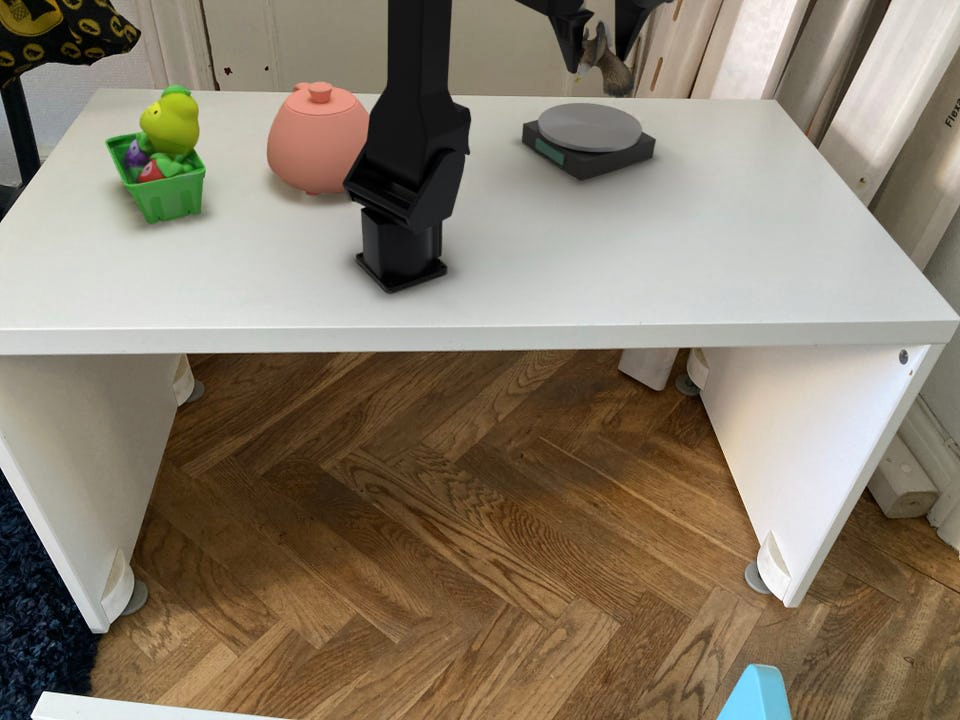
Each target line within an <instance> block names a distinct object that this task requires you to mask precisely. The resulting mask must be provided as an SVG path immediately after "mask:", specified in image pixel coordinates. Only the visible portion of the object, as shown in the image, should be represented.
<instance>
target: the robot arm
mask: <svg viewBox="0 0 960 720" xmlns="http://www.w3.org/2000/svg"><path fill="white" fill-rule="evenodd" d="M514 1H515V2H517V3H519V4H521V5H522V6H525V7H527V8H529V9H531V10H533V11H535V12H536V13H537V12H538V13H540V14H541V15H544V16H545V17H547V19H548V21H549V23H550V26H551V27H552V30H553V32H554V34H555V38H556V40H557V43H558V46H559V50H560V52H561V55H562V59H563V61H564V64H565V68H566V70H567V72H568V73H570V74H571V75H576V74H578V71H579V67H580V63H579V62H580V56H581V48H582V41H583V36H584V34H585V27H586V24H587V23H588V22H589V21H590V20H591V19H592V18H593V17H594V16H595V11H592V10H590V9H589V8H586V7H587V0H514ZM674 1H675V0H614V49H615V55H616V56H617V57H618V58H619V59H621V61H622V62H624V63H625V62H626V60H627V58H628V57H629V55H630V53H631V51H632V49H633V47H634V45H635V43H636V42H637V41H636V40H637V39H638V37H639V35H640V33H641V31H642V29H643V27H644V25H645V23H646V21H647V20H648V18H649V16H650V14H652V12H653V11H654V10H655V9H656V8H659V7H660V6H661V5H662V4H665V3H666V5H667V4H672V3H673V2H674ZM452 10H453V0H387V62H386V63H387V65H386V66H387V67H386V68H387V70H386V71H387V72H386V74H387V75H386V78H387V79H386V86H385V87H384V88H383V91H382V92H381V94H380V95H379V97H378V99H377V101H376V102H375V103H374V105H373V107H372V108H371V110H370V112H369V115H370V117H369V125H368V133H367V141H366V142H365V144H364V146H363V148H362V149H361V151H360V153H359V155H358V156H357V158H356V160H355V162H354V163H353V165H352V167H351V169H350V170H349V172H348V174H347V176H346V177H345V179H344V181H343V187H344V190H345V191H344V193H345V194H346V196H347V199H348V200H349V201H351V202H352V203H357V204H358V205H361V206H363V207H362V208H360V219H361V220H360V222H361V235H362V236H361V238H362V251H361V252H358V253H356V254H355V261H356V262H357V263H358V264H359V266H361V267H362V268H363V270H365V272H367V273H368V274H369V276H370V277H372V279H374V281H376V283H377V284H379V286H381V288H382V289H384V291H386V292H388V293H392V292H396V291H399V290H401V289H404V288H407V287H409V286H414V285H416V284H418V283H421V282H424V281H427V280H430V279H433V278H437V277H439V276H442V275H445V274H447V273H448V265H447V264H446V263H444V261H443V260H441V259H440V258H441V257H442V255H443V221H445V220H447V219H449V218H450V217H452V215H453V212H454V209H455V205H456V201H457V197H458V193H459V189H460V186H461V182H462V178H463V175H464V170H465V165H466V156H470V155H471V147H470V144H469V141H470V139H469V138H470V137H469V136H470V130H471V124H472V114H471V109H470V108H469V107H467V106H465V105H463V104H461V103H458V102H455V101H454V100H453V97H452V95H451V93H450V91H449V72H450V71H449V68H450V53H451V52H450V51H451V50H450V49H451V30H452V13H453V11H452Z"/></svg>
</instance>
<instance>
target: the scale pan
mask: <svg viewBox="0 0 960 720" xmlns="http://www.w3.org/2000/svg"><path fill="white" fill-rule="evenodd" d="M537 120H538V129H539V131H540V133H541V134H542V135H543V136H544V137H545V138H546V139H548V140H549V141H551V142H553V143H555V144H557V145H560V146H563V147H566V148H569V149H574V150H579V151H585V152H612V151H618V150H622V149H626V148H628V147H631V146H633V145H634V144H636V143H637V142H638V141H639V139H640V138H641V134H642V132H643V127H642V124H641V123H640V121H639V120H638V119H637V118H635V116H633V115H631V113H628V112H626V111H624V110H622V109H619V108H617V107H613V106H609V105H606V104H605V105H604V104H600V103H599V104H598V103H590V102H572V103H571V102H570V103H562V104H557V105H555V106H551V107H549V108H547V109H545V110H544V111H542V112H541V113H540V115H539V117H538V118H537Z"/></svg>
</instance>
